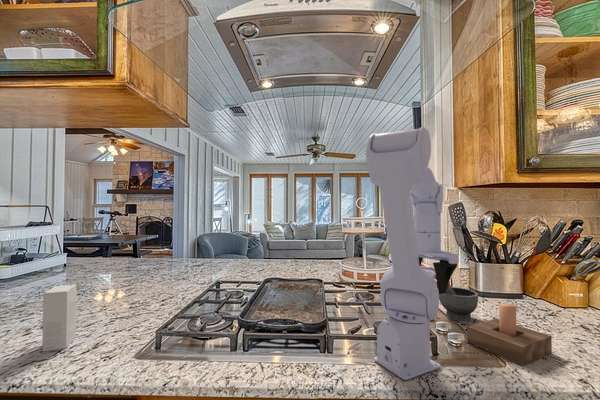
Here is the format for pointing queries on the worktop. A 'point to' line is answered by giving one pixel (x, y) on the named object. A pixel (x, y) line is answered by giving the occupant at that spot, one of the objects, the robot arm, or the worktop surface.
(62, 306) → the skincare box
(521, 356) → the walnut stand
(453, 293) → the mortar and pestle
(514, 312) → the peg
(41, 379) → the worktop surface
